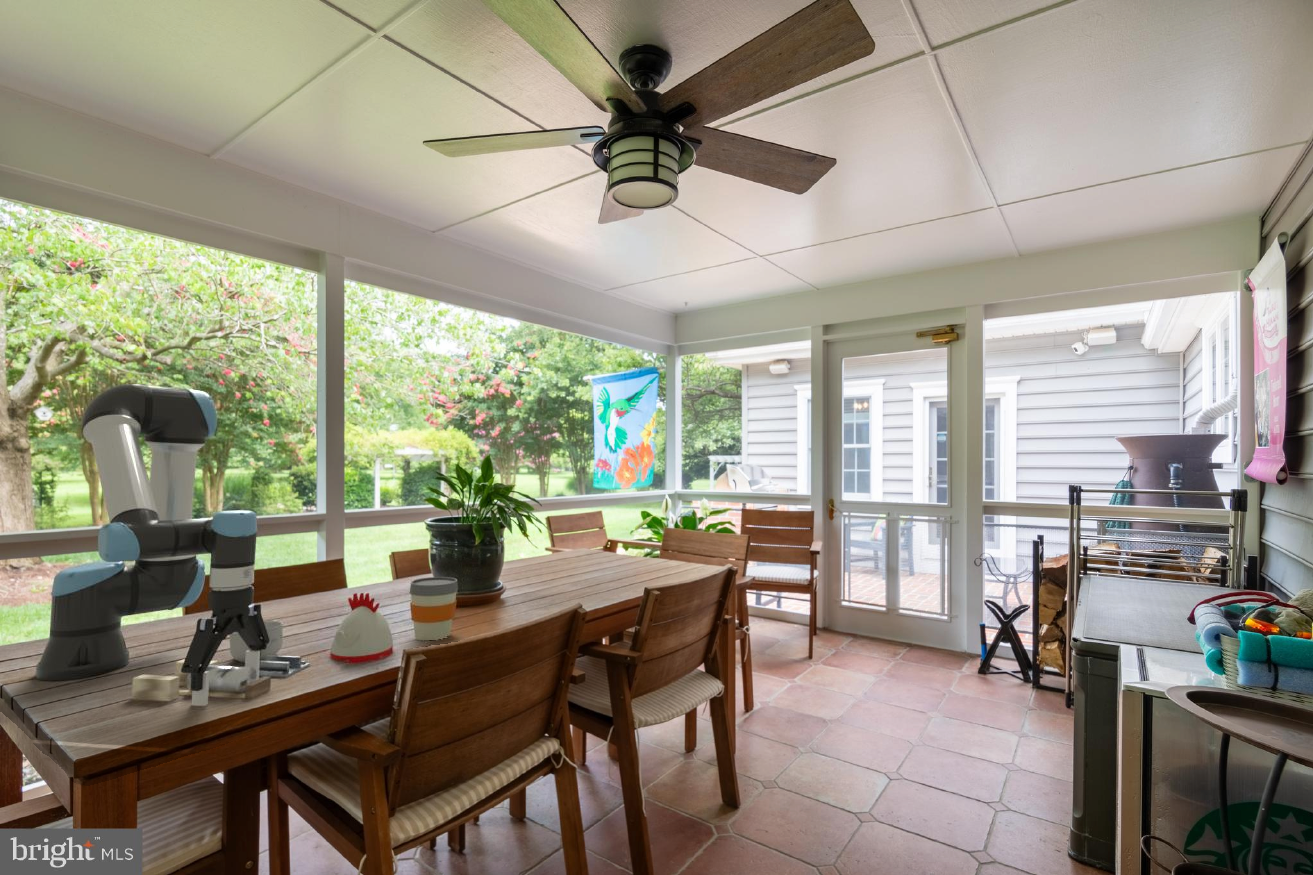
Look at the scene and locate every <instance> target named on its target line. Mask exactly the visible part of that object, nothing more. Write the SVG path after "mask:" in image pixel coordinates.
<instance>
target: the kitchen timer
mask: <svg viewBox="0 0 1313 875" xmlns="http://www.w3.org/2000/svg"><path fill="white" fill-rule="evenodd" d="M352 595H353V597H348V598H347V601H348V605H349V606H350V609H351V611H350V612H349V613H347V615H346V616H345V617H344V618H343V619H342V621H341V622H340V624H339V625H338V628H337V630H336V633H335V635H334V638H333V641H332V643H331V647H330V655H329V657H330V658H331V659H332V660H335V661H340V662H341V661H342V662H344V664H361V663H369V662H373V661H379V660H381V659H384V658H386V657H388V656H391V654H392V653H393V651H394V650H393V649H394V644H393V640H394V639H393V635H392V632H391V628H390V625H389V623H388V621H387V620H386V618H385V616H384V615H383V614H382V613H381V612H380V611H379V610H378V609H379V607H380V604H381V603H380V602H377V603H376V604H375V606H374V603H375V597H373V598H370V593H369V592H367V593H365V595H364V592H362V593H361V592H360V593H359V597H358V593H357V592H355V593H353V594H352Z"/></svg>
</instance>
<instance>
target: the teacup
mask: <svg viewBox="0 0 1313 875" xmlns="http://www.w3.org/2000/svg"><path fill="white" fill-rule="evenodd" d="M263 621H264V624H265V627H266V630H267V633H268V636H269V639H270V641H269V643H268V644H266V645H267V647H266V649H265V650H261V661H266V656H267V655H277V653H279V651H280V650H281V649H282V647H283V643H284V642H283V640H284V639H283V638H284V636H283V635H284V633H283V631H284V630H283V628H284V627H283V626H284V622H282V621H281V620H280V619H273V620H268V621H267V620H266V621H265V620H263ZM261 638H262V637H261ZM229 649H230V650H229V651H230V652H229V653H230V656H231V657H232V658H233V659H234V660H236V661H238V662H240V663H245V656H246V651H247V650H251V649H249V647H248V646H247V645H246V643H245V642H244V641H243V639H242V638H241V636H240V635H239V634H238V632H234V633H232V634H230V635H229Z"/></svg>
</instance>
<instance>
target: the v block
mask: <svg viewBox="0 0 1313 875" xmlns="http://www.w3.org/2000/svg"><path fill="white" fill-rule="evenodd" d="M310 666H311V663H310V662H307V660H302V656H299V655H298V656H297V655H296V656H295V655H294V656H293V655H279V654H278V655H277V654H275V655H267V656H266V660H264V661H261V662H260V665H259V678H262V677H264V676H265V677H271V678H282V679H286V678H288V677H291V676H292V675H294V674H296V673H298V672H300V671H302V670H304V669H306V668H309V667H310Z"/></svg>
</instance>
